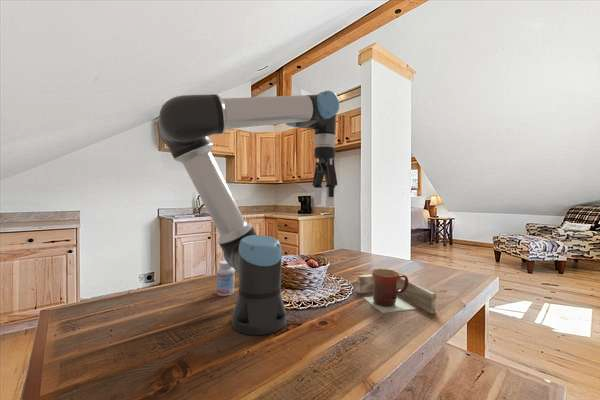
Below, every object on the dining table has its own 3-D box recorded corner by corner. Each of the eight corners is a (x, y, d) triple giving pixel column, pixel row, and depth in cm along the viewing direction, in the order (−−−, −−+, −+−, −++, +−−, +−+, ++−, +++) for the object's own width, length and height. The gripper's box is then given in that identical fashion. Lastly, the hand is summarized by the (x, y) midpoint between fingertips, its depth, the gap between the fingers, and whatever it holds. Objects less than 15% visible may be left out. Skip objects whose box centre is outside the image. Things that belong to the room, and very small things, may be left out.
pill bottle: (213, 295, 96) (213, 263, 96) (222, 289, 102) (222, 259, 102) (229, 297, 95) (229, 264, 95) (237, 291, 101) (237, 260, 100)
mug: (374, 308, 87) (375, 276, 87) (367, 297, 96) (368, 268, 96) (412, 309, 87) (413, 277, 87) (402, 298, 96) (403, 269, 96)
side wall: (359, 293, 101) (360, 276, 101) (357, 291, 102) (358, 275, 102) (393, 290, 105) (393, 274, 104) (391, 288, 106) (391, 273, 106)
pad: (382, 313, 85) (382, 312, 85) (363, 298, 96) (363, 297, 96) (415, 309, 88) (415, 308, 88) (393, 295, 100) (393, 294, 100)
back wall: (431, 313, 85) (431, 294, 85) (391, 289, 106) (391, 273, 105) (435, 312, 86) (435, 293, 86) (394, 289, 106) (395, 273, 106)
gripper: (348, 142, 90) (346, 207, 91) (323, 152, 114) (321, 203, 115) (326, 141, 88) (325, 207, 89) (305, 151, 113) (304, 203, 113)
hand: (323, 205), depth 102 cm, fingers open, 13 cm apart
